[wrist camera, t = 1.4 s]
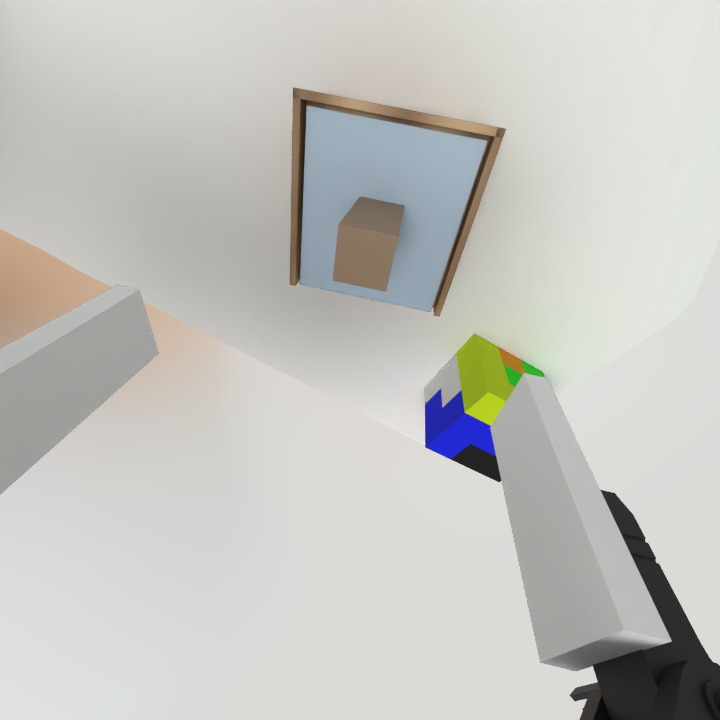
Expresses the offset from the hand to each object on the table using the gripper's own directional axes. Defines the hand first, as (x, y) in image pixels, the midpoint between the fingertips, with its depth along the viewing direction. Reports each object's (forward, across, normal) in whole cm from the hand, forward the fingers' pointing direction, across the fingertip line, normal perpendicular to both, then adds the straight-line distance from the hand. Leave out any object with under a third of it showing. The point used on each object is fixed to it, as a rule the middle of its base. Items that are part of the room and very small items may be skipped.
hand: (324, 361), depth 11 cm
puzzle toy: (+25, +16, -18) cm, 34 cm away
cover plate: (+19, 0, 0) cm, 19 cm away
